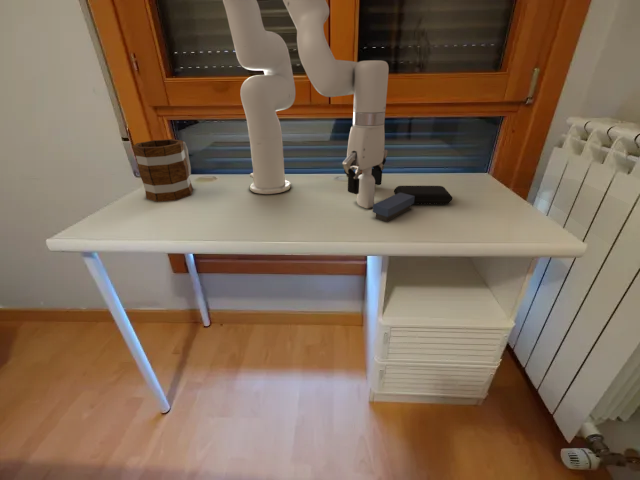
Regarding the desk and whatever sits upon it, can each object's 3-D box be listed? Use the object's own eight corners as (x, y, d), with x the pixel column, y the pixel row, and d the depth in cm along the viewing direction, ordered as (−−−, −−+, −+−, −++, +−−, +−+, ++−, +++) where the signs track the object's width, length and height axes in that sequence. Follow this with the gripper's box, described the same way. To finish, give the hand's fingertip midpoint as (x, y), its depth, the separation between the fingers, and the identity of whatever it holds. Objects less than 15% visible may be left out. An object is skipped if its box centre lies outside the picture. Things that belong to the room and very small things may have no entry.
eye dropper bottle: (372, 201, 88) (375, 158, 83) (373, 209, 83) (376, 163, 78) (356, 201, 89) (358, 158, 83) (357, 208, 84) (358, 163, 78)
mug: (178, 202, 90) (166, 148, 83) (135, 200, 92) (120, 148, 85) (210, 182, 107) (202, 135, 100) (174, 180, 109) (163, 135, 102)
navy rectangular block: (387, 223, 75) (388, 209, 74) (372, 218, 78) (372, 204, 76) (413, 209, 83) (415, 196, 81) (398, 205, 86) (399, 192, 84)
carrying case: (442, 193, 94) (391, 192, 95) (444, 182, 92) (392, 182, 93) (453, 206, 84) (397, 205, 85) (455, 195, 83) (398, 195, 84)
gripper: (377, 115, 84) (372, 178, 92) (332, 122, 73) (332, 193, 81) (401, 117, 79) (395, 183, 87) (358, 125, 68) (355, 200, 76)
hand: (364, 188), depth 84 cm, fingers open, 9 cm apart
